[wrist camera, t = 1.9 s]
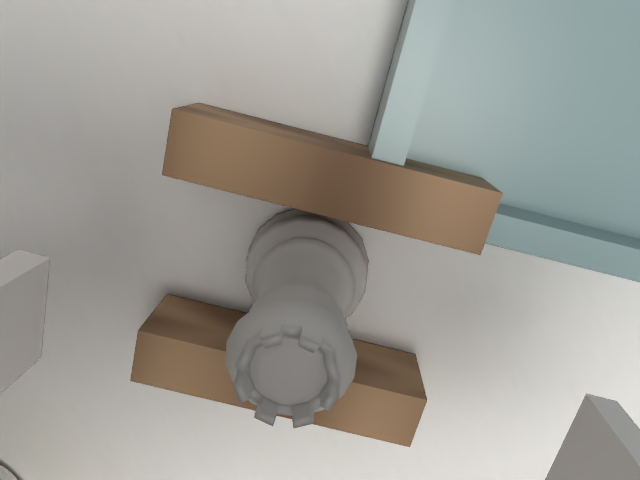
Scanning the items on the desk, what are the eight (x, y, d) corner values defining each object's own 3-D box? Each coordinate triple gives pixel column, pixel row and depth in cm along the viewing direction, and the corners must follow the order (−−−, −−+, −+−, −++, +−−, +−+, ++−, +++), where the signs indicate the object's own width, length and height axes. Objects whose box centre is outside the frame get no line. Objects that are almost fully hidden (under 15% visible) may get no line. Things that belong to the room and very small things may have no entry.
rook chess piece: (241, 209, 19) (173, 301, 11) (363, 198, 19) (377, 284, 11) (258, 319, 20) (208, 466, 13) (372, 310, 20) (391, 456, 12)
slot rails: (159, 338, 21) (130, 380, 18) (199, 103, 18) (172, 109, 15) (400, 396, 21) (409, 447, 18) (477, 174, 18) (503, 193, 15)
